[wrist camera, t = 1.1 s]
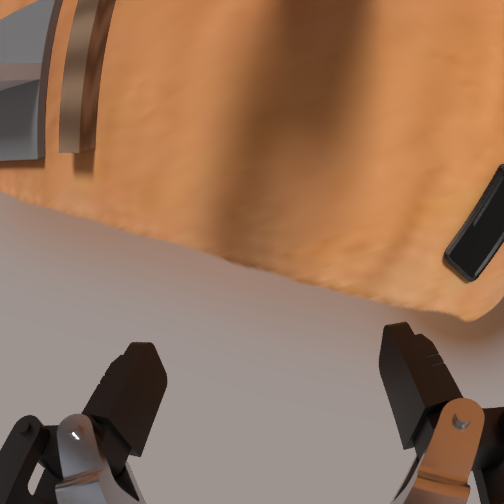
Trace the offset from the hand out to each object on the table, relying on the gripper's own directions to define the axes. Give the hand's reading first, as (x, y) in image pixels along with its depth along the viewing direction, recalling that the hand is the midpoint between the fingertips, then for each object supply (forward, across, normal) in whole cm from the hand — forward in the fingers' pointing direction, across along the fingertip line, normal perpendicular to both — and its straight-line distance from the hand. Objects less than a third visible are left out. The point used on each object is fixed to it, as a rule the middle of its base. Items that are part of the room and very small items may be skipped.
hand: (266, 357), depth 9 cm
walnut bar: (+21, +17, -20) cm, 33 cm away
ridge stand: (+20, +30, -23) cm, 43 cm away
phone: (+22, -28, +4) cm, 35 cm away
